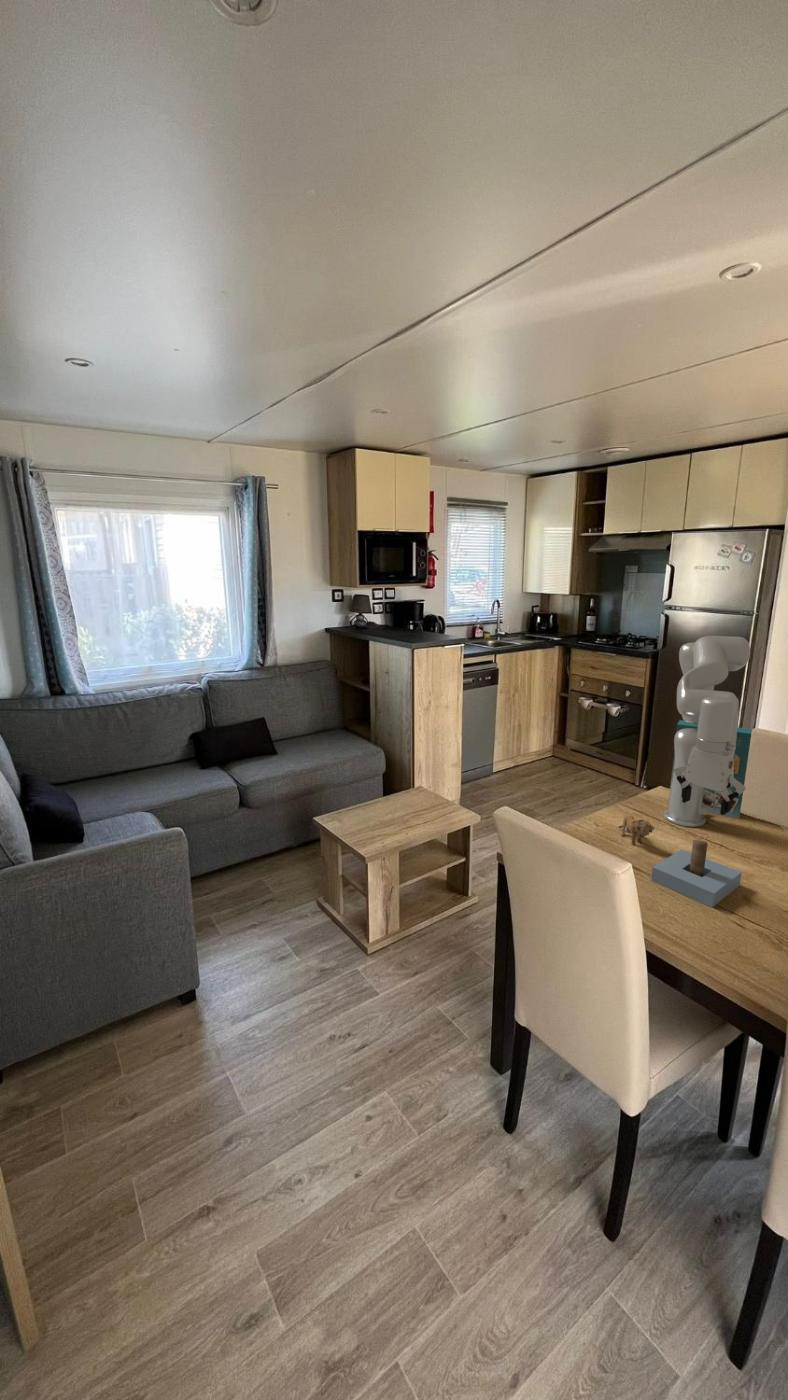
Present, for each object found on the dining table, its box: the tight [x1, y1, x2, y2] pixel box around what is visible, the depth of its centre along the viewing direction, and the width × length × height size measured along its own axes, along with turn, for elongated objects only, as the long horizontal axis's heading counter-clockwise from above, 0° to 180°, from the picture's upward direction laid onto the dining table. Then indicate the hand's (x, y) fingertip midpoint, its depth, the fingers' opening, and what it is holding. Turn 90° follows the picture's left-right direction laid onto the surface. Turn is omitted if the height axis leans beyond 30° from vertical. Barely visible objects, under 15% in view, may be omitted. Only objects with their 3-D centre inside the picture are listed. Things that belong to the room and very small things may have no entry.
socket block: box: [650, 849, 742, 908], centre depth 152 cm, size 16×16×4 cm
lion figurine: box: [618, 814, 655, 846], centre depth 176 cm, size 15×5×9 cm, turn 13°
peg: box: [689, 839, 708, 877], centre depth 151 cm, size 3×3×12 cm
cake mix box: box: [668, 719, 753, 819], centre depth 195 cm, size 22×6×30 cm, turn 57°
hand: (704, 807), depth 147 cm, fingers open, 9 cm apart
